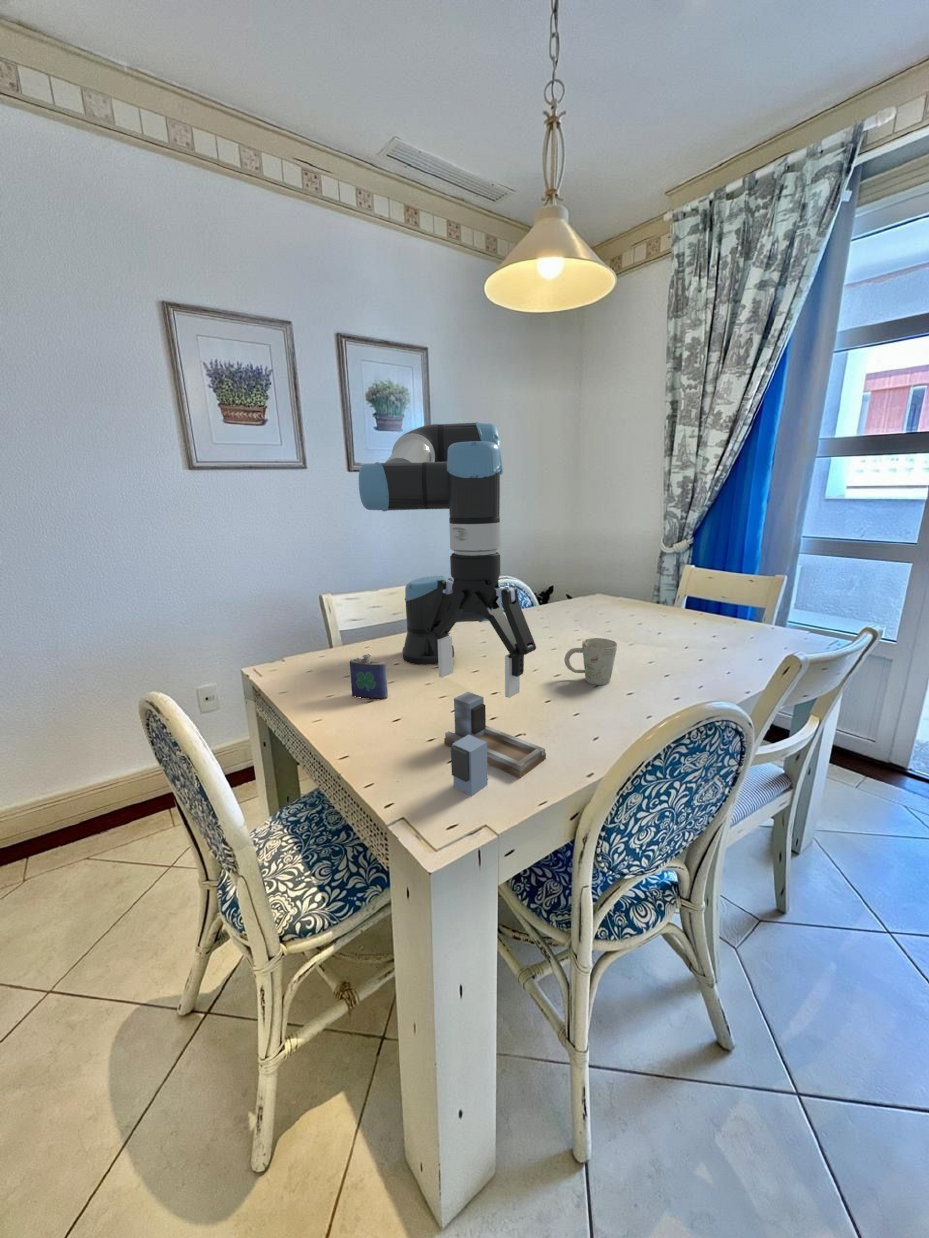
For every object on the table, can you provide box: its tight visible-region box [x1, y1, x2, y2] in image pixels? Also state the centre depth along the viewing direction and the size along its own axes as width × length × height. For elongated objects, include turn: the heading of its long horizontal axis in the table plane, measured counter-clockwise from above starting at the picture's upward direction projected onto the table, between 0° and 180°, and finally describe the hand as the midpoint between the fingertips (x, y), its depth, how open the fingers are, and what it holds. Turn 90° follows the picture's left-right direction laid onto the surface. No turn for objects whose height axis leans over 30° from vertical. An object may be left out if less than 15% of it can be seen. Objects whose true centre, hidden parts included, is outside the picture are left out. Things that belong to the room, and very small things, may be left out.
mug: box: [564, 637, 618, 686], centre depth 123 cm, size 8×13×10 cm, turn 78°
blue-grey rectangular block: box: [450, 735, 488, 797], centre depth 81 cm, size 4×5×8 cm
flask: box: [349, 653, 389, 700], centre depth 117 cm, size 9×3×11 cm, turn 74°
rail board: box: [443, 691, 547, 779], centre depth 91 cm, size 18×8×9 cm, turn 48°
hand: (477, 684), depth 79 cm, fingers open, 13 cm apart
